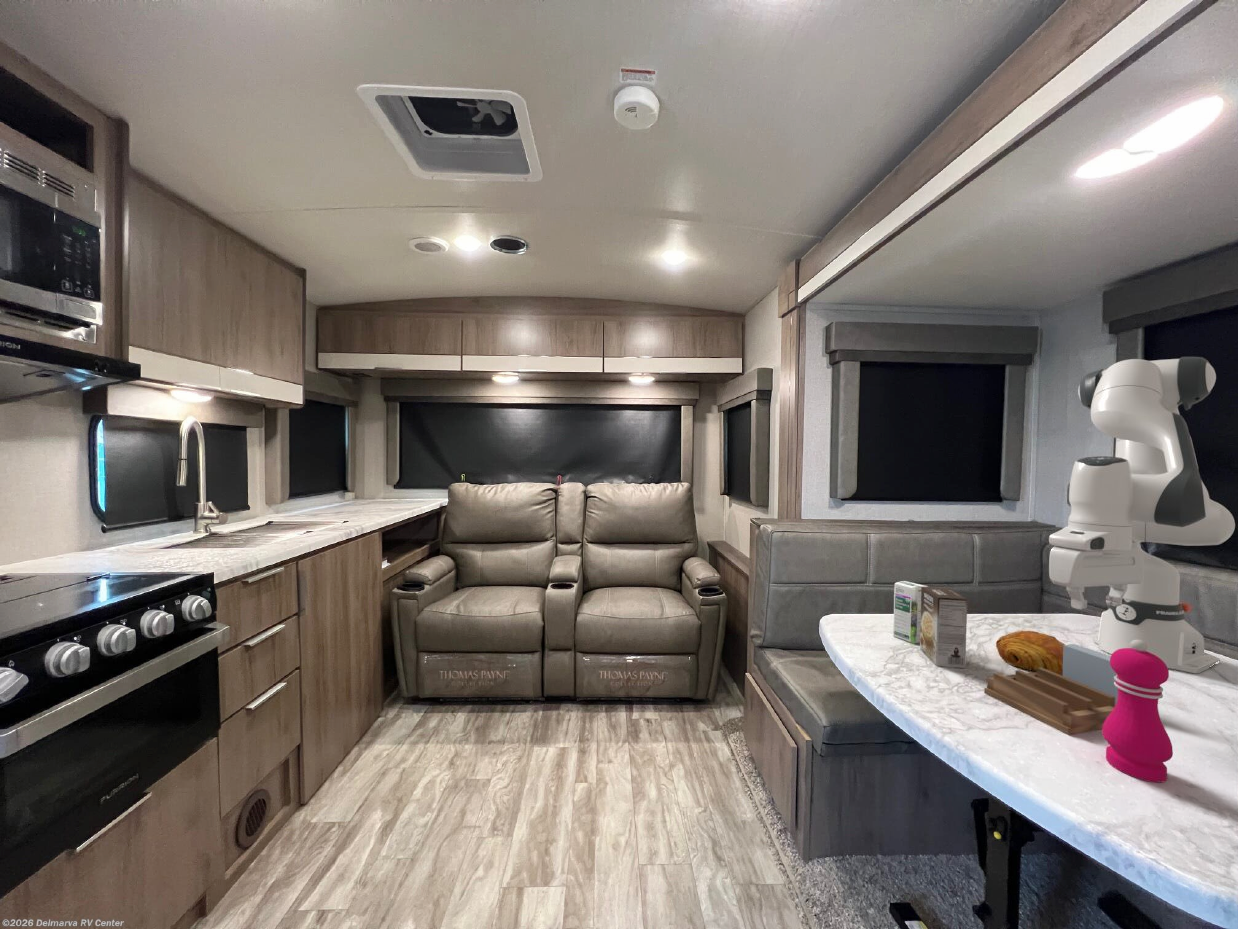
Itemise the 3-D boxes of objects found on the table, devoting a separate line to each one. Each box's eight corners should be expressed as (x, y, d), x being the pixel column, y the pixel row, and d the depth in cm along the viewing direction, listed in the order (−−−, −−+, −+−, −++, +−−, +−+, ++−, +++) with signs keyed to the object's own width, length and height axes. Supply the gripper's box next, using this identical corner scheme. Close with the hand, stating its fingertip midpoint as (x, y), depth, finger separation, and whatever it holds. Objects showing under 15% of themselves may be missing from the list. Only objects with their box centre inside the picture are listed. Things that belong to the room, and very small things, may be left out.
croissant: (984, 664, 112) (980, 632, 111) (1027, 648, 116) (1024, 617, 116) (1056, 692, 98) (1052, 655, 98) (1101, 672, 103) (1098, 637, 102)
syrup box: (892, 636, 123) (893, 582, 122) (905, 632, 125) (906, 580, 125) (914, 644, 118) (915, 588, 117) (927, 640, 120) (928, 585, 120)
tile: (1072, 686, 97) (1074, 643, 96) (1128, 709, 88) (1130, 662, 88) (1062, 687, 96) (1063, 645, 96) (1117, 711, 87) (1118, 664, 87)
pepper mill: (1088, 754, 74) (1091, 631, 74) (1128, 752, 75) (1132, 630, 74) (1142, 786, 67) (1147, 650, 67) (1186, 784, 67) (1191, 649, 67)
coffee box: (918, 649, 114) (919, 585, 114) (947, 652, 113) (948, 587, 113) (935, 666, 105) (937, 596, 105) (967, 669, 104) (969, 598, 104)
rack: (1036, 685, 97) (1037, 664, 96) (1126, 724, 83) (1126, 700, 82) (984, 692, 93) (984, 671, 93) (1067, 734, 79) (1068, 709, 79)
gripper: (1116, 534, 97) (1114, 599, 97) (1042, 536, 92) (1040, 604, 92) (1157, 539, 91) (1154, 609, 91) (1080, 542, 86) (1078, 615, 86)
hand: (1096, 607), depth 92 cm, fingers open, 8 cm apart
